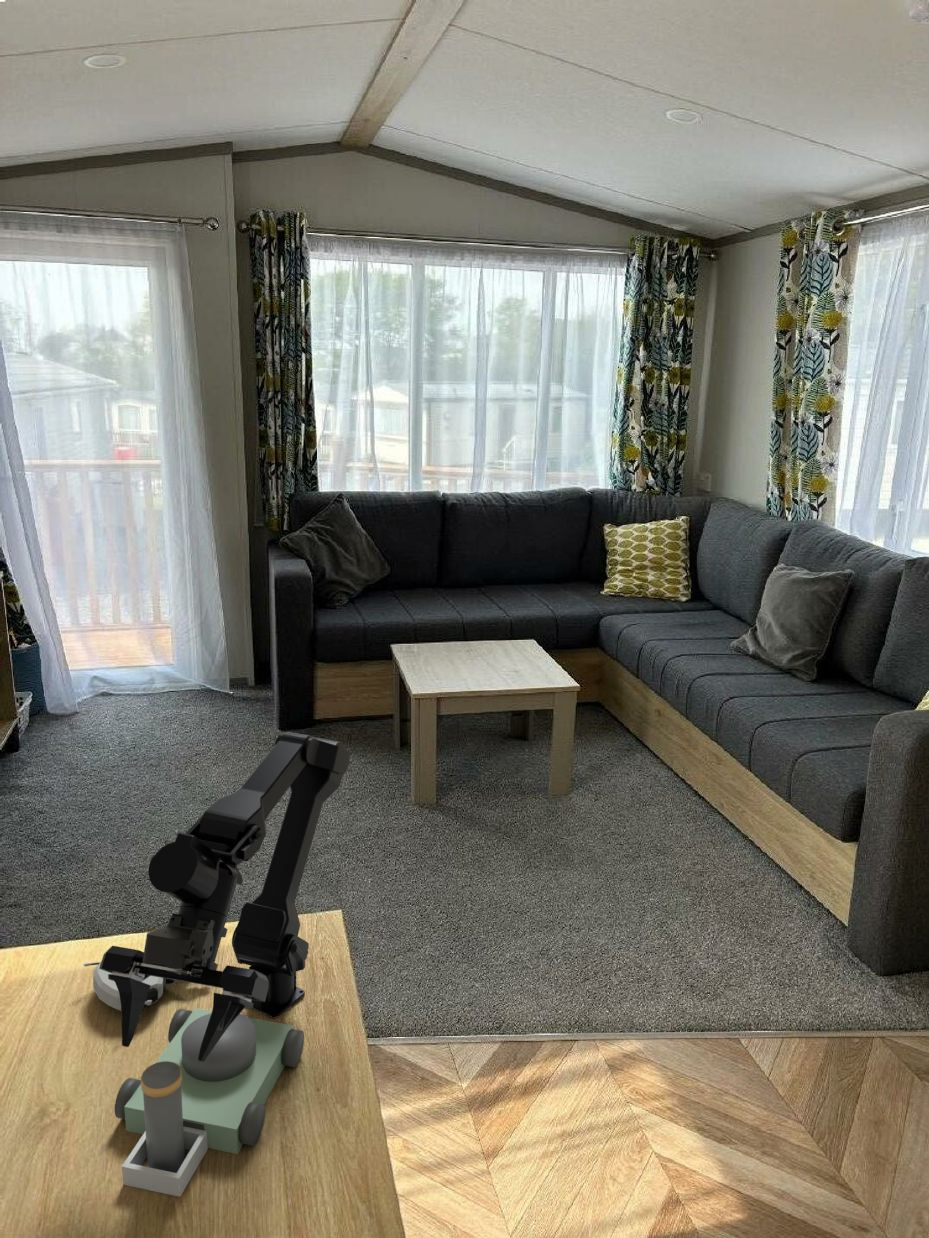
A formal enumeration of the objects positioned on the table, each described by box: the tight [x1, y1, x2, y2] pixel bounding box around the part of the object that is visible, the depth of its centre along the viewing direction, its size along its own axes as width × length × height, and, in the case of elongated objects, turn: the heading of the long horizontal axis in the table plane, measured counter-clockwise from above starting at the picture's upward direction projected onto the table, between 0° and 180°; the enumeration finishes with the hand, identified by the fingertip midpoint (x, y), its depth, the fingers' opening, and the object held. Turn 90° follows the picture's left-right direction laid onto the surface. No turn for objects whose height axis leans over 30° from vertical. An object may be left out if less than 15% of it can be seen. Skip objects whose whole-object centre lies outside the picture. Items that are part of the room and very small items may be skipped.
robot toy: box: [83, 961, 202, 1012], centre depth 141 cm, size 12×4×15 cm
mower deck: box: [114, 1007, 305, 1198], centre depth 119 cm, size 25×17×6 cm
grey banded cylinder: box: [140, 1061, 186, 1173], centre depth 110 cm, size 4×4×12 cm
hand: (162, 1053), depth 111 cm, fingers open, 9 cm apart
